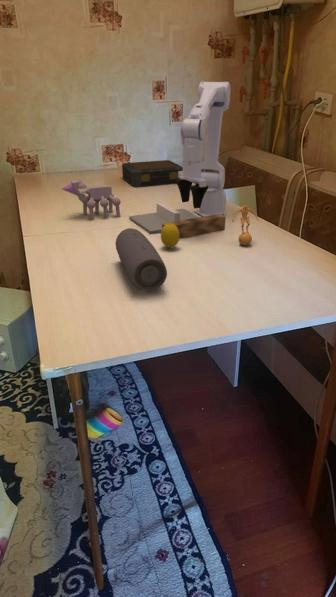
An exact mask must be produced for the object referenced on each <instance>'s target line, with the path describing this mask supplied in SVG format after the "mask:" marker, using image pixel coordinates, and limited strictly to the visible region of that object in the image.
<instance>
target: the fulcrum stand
mask: <svg viewBox="0 0 336 597" xmlns="http://www.w3.org/2000/svg"><path fill="white" fill-rule="evenodd" d="M198 217H199V216H198V215H196V214H194V213H192V212H190V210H189V211H188V210H187V209H185V208H178V209H174V208H173V207H170V206H168V204H167V205H166V204H165V203H163V202H156V212H151V213H144V214H138V215H137V214H136V215H130V216H128V218H129V219H128V220H130V221H132V222H133V224H135V225H137V226H138V227H140V228H141V229H142V230H144V231H145V232H147V233H148V234H150V235H154V234H159V233H160V234H161V231H162V224H163V223H169V222H174V221H180V220H186V219H192V218H198Z"/></svg>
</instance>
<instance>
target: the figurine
mask: <svg viewBox="0 0 336 597" xmlns="http://www.w3.org/2000/svg"><path fill="white" fill-rule="evenodd" d="M249 212H251V213H253V215H254V216H255V218H256V220H257V221H259V217H258V215H257V213H256V211H255V210H254V209H251V208H250V207H248V205H246V204H245V205H242V206H241V207H240V208H239V209H237V210H235V211H234V212H233V216H232V219H231V222H232V223H235V222H234V221H235V217H236V214H237V213H241V217H240V224H241V233H240V234H239V237H238V242H239V244H240V245H242V246H243V247H244V246H249V245H250V244H251V243H252V241H253V237H252V235H251V233H250V232H249V229H248V228H249V226H250V225H251V222H250V217H249V216H248V214H249ZM245 223H246V224H247V225H246V227H245ZM244 227H245V229H246V232H245V231H244V230H245V229H244Z"/></svg>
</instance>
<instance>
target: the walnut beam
mask: <svg viewBox="0 0 336 597" xmlns="http://www.w3.org/2000/svg"><path fill="white" fill-rule="evenodd" d="M226 218H227V217H226V216H225V215H224V214H223V215H221V214H215V215H209V216H204V217H203V216H198V218H192V219H186V220H180V221H174V222H169V223H172V224H174V225H175V226H176V227H177V228H178V230H179V240H180V239H186V238H191V237H197V236H201V235H206V234H211V233H217V232H221V231H225V230H226ZM169 223H163V224H162V228H163V227H164V226H165V225H166V224H169Z"/></svg>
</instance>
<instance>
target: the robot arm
mask: <svg viewBox="0 0 336 597" xmlns="http://www.w3.org/2000/svg"><path fill="white" fill-rule="evenodd" d="M231 90H232V89H231V84H230V82H229V81H204V80H203V81H201V82H200V83H199V84H198V90H197V97H198V98H197V99H198V103H196V104H194V105H193V106H192V108H191V110H190V113H189V114H188V117H186V118H184V119H183V120H182V121H181V123H180V133H179V134H180V137H181V139H180V140H181V146H182V167H183V171H178V178H180V179H179V180H176V183H177V184H176V186H177V187H178V190H179V194H180V200H181V202H182V203H189V201H190V196H192V206H193V209H196V210H194V211H193V212H194V213H196V214H198V215H200V217H204V216H209V215H215V214H221V215H223V216H224V215H227V212H226V208H227V207H226V205H227V193H226V191H225V190H224V189H223V188H224V185H225V180H226V175H225V173H226V169H225V167H224V165H222V164H221V162H219V152H220V144H221V134H222V133H221V132H222V124H223V116H224V112H225V111H228V110H229V107H230V101H231V92H232V91H231ZM206 130H207V131H206ZM205 136H206V143H205V153H204V161H203V162H202V160H203V158H202V157H203V140H204V138H205Z"/></svg>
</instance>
